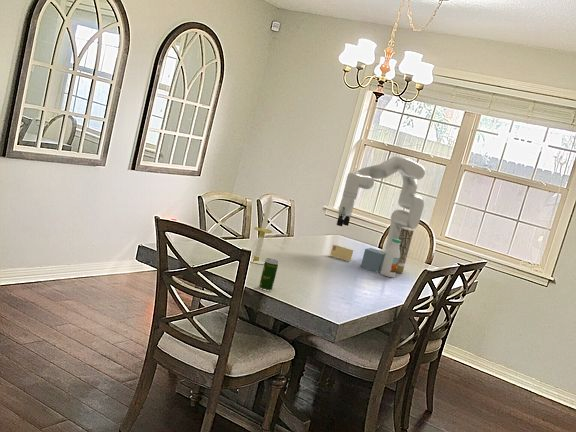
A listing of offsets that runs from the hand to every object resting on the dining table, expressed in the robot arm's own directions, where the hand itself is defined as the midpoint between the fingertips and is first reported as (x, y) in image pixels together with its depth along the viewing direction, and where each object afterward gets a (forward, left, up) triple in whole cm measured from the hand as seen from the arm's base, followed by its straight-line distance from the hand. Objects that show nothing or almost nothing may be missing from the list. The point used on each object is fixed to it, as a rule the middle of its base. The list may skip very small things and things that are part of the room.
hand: (342, 225), depth 373 cm
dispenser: (0, +22, -18) cm, 29 cm away
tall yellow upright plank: (0, +3, -18) cm, 18 cm away
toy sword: (+73, -12, -18) cm, 76 cm away
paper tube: (-14, +32, -18) cm, 40 cm away
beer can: (+113, +14, -18) cm, 115 cm away
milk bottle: (+5, +33, -18) cm, 38 cm away
